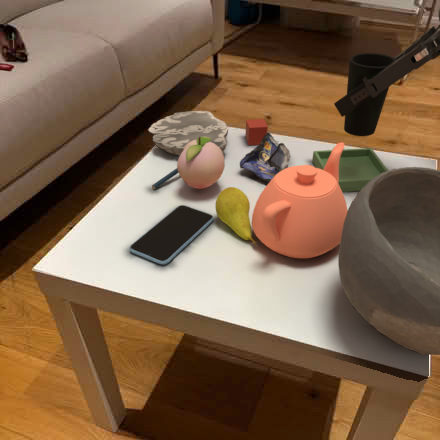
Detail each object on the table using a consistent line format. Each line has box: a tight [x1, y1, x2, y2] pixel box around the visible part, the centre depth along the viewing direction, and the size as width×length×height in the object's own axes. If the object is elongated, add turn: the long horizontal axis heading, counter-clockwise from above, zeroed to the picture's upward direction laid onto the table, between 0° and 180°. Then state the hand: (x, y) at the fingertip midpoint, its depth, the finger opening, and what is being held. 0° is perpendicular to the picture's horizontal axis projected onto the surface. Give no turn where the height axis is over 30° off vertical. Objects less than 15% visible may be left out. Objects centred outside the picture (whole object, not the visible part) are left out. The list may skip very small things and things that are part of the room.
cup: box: [343, 52, 396, 137], centre depth 81 cm, size 8×8×12 cm
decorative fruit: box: [176, 136, 226, 190], centre depth 84 cm, size 9×8×10 cm
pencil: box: [151, 167, 179, 190], centre depth 90 cm, size 1×1×15 cm
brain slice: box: [147, 110, 229, 157], centre depth 100 cm, size 20×17×3 cm
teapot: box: [251, 141, 348, 259], centre depth 73 cm, size 22×15×12 cm
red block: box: [245, 118, 269, 146], centre depth 101 cm, size 4×4×4 cm
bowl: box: [337, 166, 440, 356], centre depth 59 cm, size 24×24×15 cm
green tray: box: [311, 147, 390, 193], centre depth 91 cm, size 12×12×2 cm
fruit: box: [215, 186, 258, 245], centre depth 77 cm, size 6×6×12 cm
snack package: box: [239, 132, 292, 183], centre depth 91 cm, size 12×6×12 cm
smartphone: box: [129, 204, 214, 265], centre depth 77 cm, size 7×1×15 cm
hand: (347, 101), depth 83 cm, fingers closed on cup, 8 cm apart
